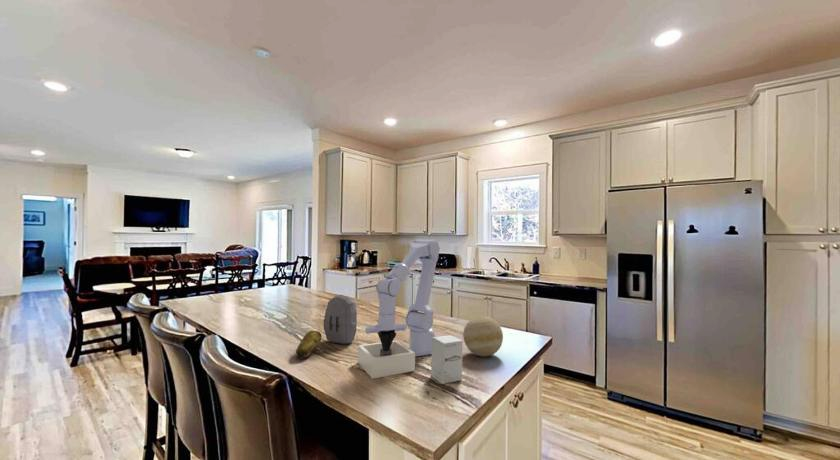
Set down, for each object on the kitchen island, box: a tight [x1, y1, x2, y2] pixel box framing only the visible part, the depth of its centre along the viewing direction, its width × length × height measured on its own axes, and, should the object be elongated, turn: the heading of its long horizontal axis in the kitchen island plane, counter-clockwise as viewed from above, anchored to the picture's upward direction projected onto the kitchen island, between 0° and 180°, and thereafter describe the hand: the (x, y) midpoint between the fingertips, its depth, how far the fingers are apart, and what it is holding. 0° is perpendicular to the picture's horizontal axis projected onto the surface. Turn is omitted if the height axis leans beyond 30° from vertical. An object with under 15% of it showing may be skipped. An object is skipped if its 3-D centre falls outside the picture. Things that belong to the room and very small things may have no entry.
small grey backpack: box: [323, 294, 358, 345], centre depth 142 cm, size 15×8×20 cm, turn 66°
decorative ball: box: [462, 315, 504, 358], centre depth 130 cm, size 15×15×15 cm
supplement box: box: [430, 334, 463, 385], centre depth 109 cm, size 7×7×13 cm
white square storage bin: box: [357, 340, 416, 379], centre depth 117 cm, size 15×15×6 cm
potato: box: [295, 330, 322, 360], centre depth 127 cm, size 8×13×8 cm, turn 154°
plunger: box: [380, 348, 392, 357], centre depth 117 cm, size 11×11×5 cm
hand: (385, 352), depth 117 cm, fingers closed, pressing on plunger
